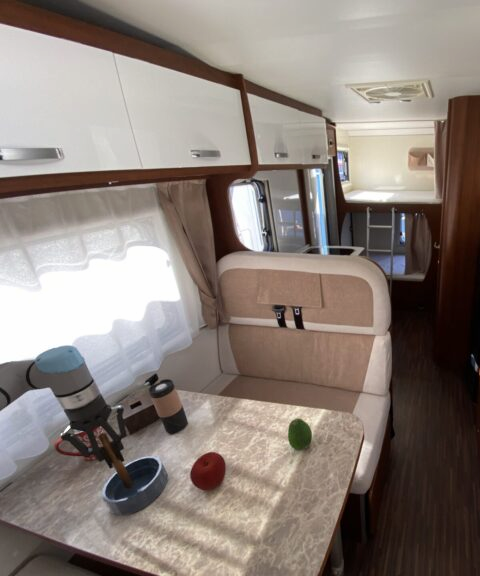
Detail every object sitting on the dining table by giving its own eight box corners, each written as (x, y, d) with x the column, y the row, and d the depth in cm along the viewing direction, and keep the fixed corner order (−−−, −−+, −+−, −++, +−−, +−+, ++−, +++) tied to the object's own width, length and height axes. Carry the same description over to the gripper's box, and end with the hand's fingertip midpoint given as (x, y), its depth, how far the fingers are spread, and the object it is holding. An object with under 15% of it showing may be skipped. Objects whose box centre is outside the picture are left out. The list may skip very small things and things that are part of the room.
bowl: (115, 528, 84) (106, 514, 82) (106, 494, 93) (97, 480, 91) (174, 488, 94) (168, 474, 92) (161, 461, 103) (154, 447, 101)
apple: (194, 503, 90) (184, 481, 86) (197, 476, 98) (188, 454, 94) (229, 489, 93) (221, 467, 89) (229, 463, 101) (222, 442, 97)
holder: (130, 435, 114) (122, 419, 111) (124, 421, 121) (116, 406, 118) (161, 418, 121) (155, 403, 118) (154, 406, 128) (148, 391, 125)
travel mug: (183, 432, 114) (166, 391, 106) (161, 436, 113) (143, 394, 105) (192, 417, 121) (176, 377, 113) (171, 420, 120) (154, 380, 112)
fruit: (316, 450, 105) (311, 424, 100) (293, 460, 102) (287, 434, 97) (310, 433, 111) (306, 408, 107) (289, 442, 108) (283, 417, 104)
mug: (112, 436, 114) (97, 409, 109) (117, 449, 109) (102, 421, 103) (66, 460, 105) (48, 432, 100) (69, 476, 100) (50, 447, 95)
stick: (127, 492, 92) (96, 436, 85) (126, 488, 93) (95, 433, 86) (135, 487, 93) (105, 432, 86) (133, 483, 95) (104, 428, 87)
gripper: (42, 425, 72) (84, 489, 81) (120, 390, 83) (150, 451, 92) (40, 410, 77) (80, 473, 86) (115, 379, 87) (143, 438, 96)
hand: (116, 461), depth 89 cm, fingers closed on stick, 2 cm apart
